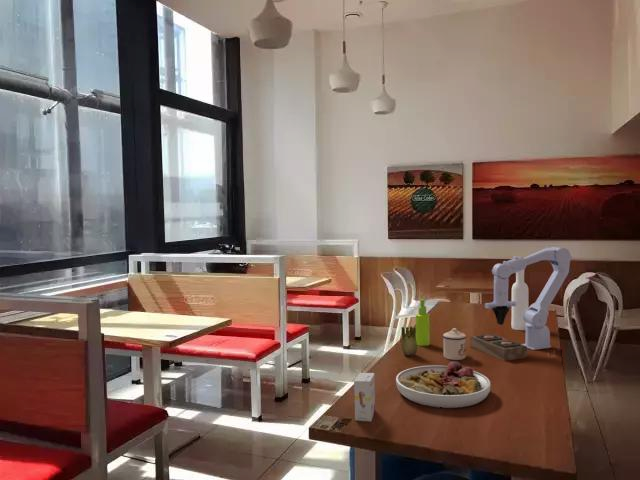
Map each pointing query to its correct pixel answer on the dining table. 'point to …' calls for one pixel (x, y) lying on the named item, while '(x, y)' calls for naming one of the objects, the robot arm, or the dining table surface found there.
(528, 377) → the dining table surface
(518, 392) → the dining table surface
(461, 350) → the teacup with lid
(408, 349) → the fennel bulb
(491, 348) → the walnut block
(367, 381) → the ink box
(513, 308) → the bottle
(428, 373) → the bowl
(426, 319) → the soap dispenser
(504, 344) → the peg
